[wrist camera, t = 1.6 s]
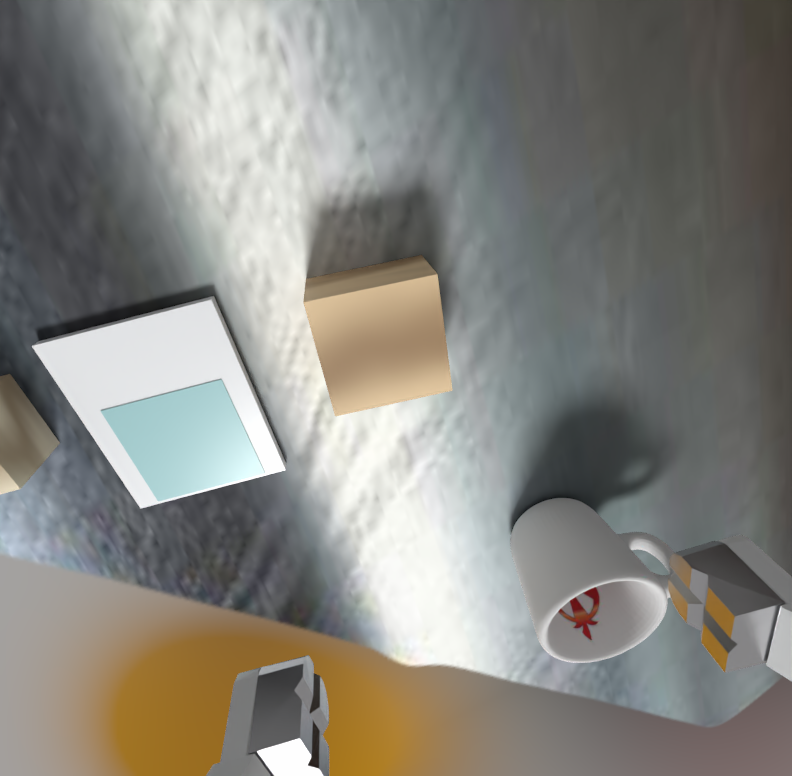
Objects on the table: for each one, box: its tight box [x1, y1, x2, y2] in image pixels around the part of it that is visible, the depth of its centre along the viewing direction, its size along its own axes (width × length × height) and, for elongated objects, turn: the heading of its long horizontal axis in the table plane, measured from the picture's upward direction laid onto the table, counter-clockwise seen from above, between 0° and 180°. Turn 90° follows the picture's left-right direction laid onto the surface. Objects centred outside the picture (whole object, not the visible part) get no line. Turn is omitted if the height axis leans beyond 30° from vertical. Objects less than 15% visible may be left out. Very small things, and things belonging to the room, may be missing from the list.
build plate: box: [32, 296, 286, 508], centre depth 26 cm, size 11×9×1 cm
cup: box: [510, 498, 675, 663], centre depth 31 cm, size 11×8×8 cm
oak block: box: [304, 255, 452, 416], centre depth 24 cm, size 6×6×4 cm
